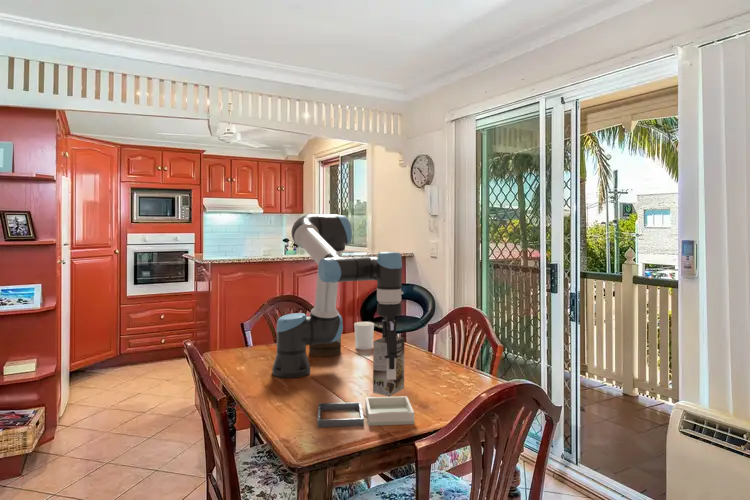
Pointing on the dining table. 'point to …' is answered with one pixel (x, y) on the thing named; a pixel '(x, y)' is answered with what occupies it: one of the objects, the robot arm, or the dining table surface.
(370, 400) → the tray
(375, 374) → the coffee box
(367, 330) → the candle holder
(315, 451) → the dining table surface
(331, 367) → the dining table surface
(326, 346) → the wooden container
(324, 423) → the socket collar
